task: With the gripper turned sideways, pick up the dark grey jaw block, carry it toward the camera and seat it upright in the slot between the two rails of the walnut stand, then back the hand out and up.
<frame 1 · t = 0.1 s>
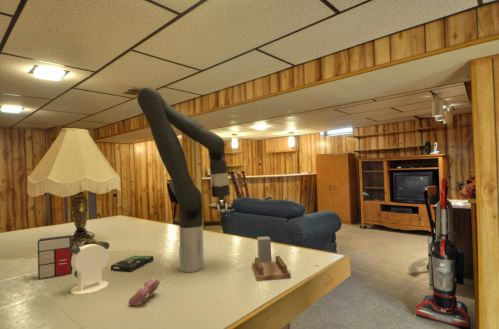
hand: (224, 223, 118), 17 cm above the table, tool pointing down, fingers open, 8 cm apart
grey and red box: (55, 276, 114), on the table
jaw block: (264, 261, 121), on the table
walnut stand: (270, 272, 108), on the table
pink lumpy piece: (145, 300, 89), on the table
disk drive: (133, 267, 123), on the table
white rounded upright piece: (91, 288, 100), on the table
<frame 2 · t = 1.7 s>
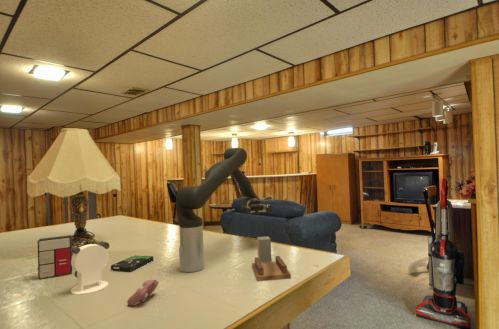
hand: (258, 210, 134), 20 cm above the table, tool horizontal, fingers open, 8 cm apart
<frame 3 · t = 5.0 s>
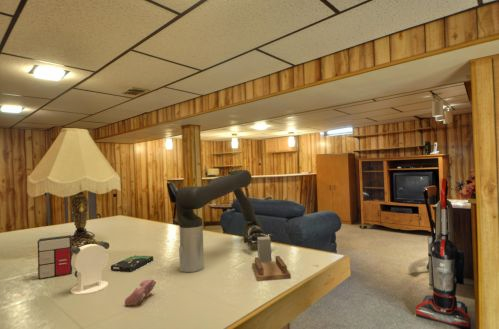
hand: (260, 241, 131), 6 cm above the table, tool horizontal, fingers open, 8 cm apart
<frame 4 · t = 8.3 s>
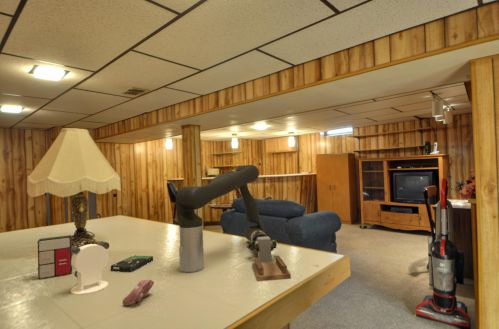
hand: (265, 248, 119), 6 cm above the table, tool horizontal, fingers closed on jaw block, 5 cm apart
jaw block: (264, 261, 121), on the table, touching gripper
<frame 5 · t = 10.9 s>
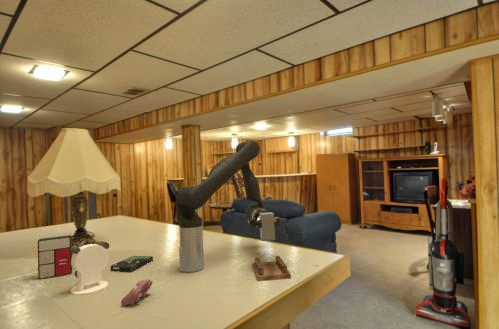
hand: (268, 224, 110), 18 cm above the table, tool horizontal, fingers closed on jaw block, 5 cm apart
jaw block: (267, 239, 112), point 12 cm above the table, touching gripper
when the fingers open (9 cm above the table, at t = 13.8 s): jaw block drops 1 cm, resting on walnut stand.
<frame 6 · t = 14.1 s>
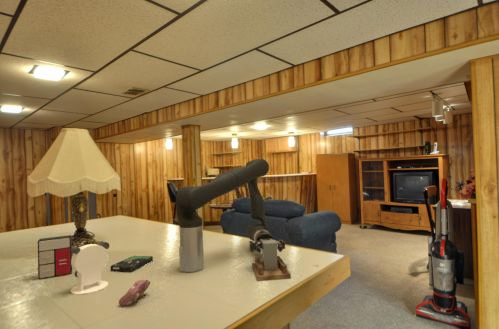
hand: (270, 249, 107), 9 cm above the table, tool horizontal, fingers open, 7 cm apart
jaw block: (270, 268, 108), point 1 cm above the table, touching walnut stand
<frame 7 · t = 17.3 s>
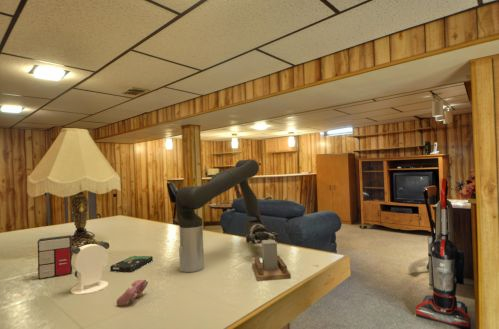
hand: (264, 241, 120), 9 cm above the table, tool horizontal, fingers open, 8 cm apart
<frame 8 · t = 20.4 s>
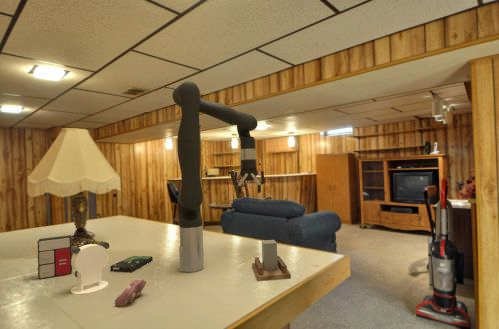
hand: (249, 193, 133), 28 cm above the table, tool pointing down, fingers open, 8 cm apart
at the end: jaw block inside the target area on the walnut stand (0.1 cm from its centre), point 1.5 cm above the walnut stand's base; jaw block tilted 0°; the gripper is holding nothing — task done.
